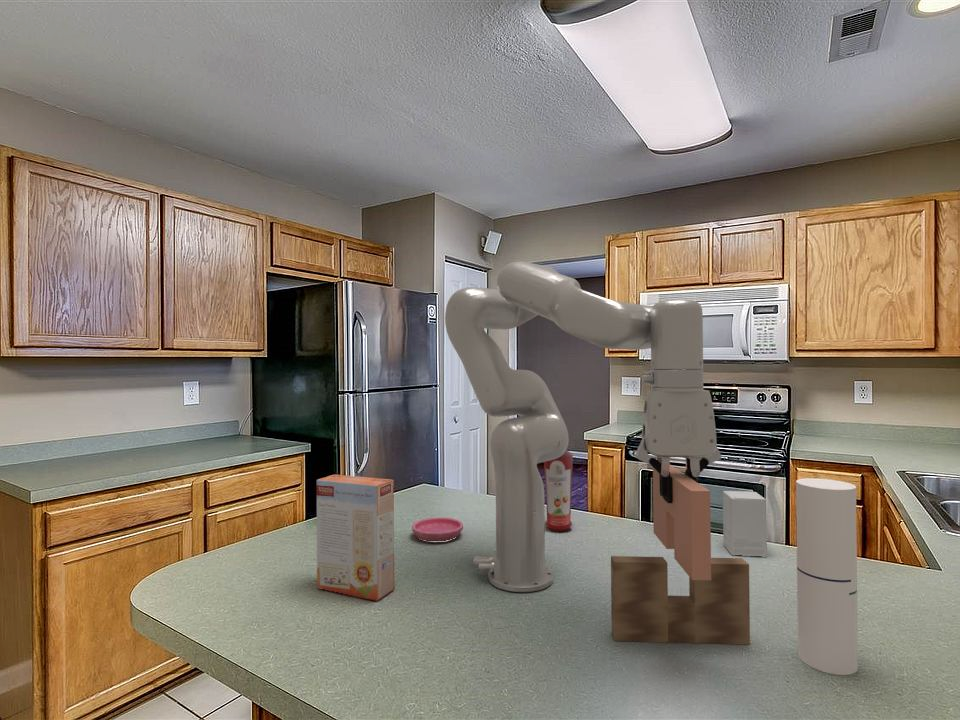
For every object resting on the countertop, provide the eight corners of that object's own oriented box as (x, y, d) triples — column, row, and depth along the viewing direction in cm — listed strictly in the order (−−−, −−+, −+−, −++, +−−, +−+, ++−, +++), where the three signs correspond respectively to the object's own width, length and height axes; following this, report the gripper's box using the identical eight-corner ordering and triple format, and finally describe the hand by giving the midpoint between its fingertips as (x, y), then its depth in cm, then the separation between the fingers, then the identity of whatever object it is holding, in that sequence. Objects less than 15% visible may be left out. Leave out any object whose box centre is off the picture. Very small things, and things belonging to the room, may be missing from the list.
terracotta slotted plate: (711, 580, 72) (710, 491, 72) (692, 580, 72) (691, 490, 72) (668, 532, 92) (667, 463, 92) (653, 532, 92) (652, 462, 92)
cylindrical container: (786, 648, 79) (784, 478, 79) (832, 645, 79) (830, 477, 79) (821, 676, 72) (819, 490, 72) (871, 673, 72) (869, 489, 72)
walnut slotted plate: (614, 640, 81) (613, 562, 81) (611, 632, 84) (610, 556, 84) (749, 644, 80) (749, 564, 80) (742, 635, 82) (742, 558, 82)
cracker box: (396, 589, 100) (395, 478, 100) (377, 603, 95) (376, 485, 95) (337, 577, 106) (336, 472, 106) (315, 589, 100) (315, 478, 101)
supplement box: (767, 558, 115) (767, 499, 115) (730, 555, 116) (730, 497, 116) (757, 546, 122) (756, 491, 122) (722, 544, 123) (722, 489, 123)
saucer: (468, 542, 126) (468, 529, 126) (416, 548, 123) (416, 534, 123) (456, 527, 138) (456, 515, 138) (408, 532, 135) (408, 519, 135)
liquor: (574, 525, 138) (573, 417, 138) (572, 534, 131) (571, 420, 131) (545, 523, 140) (545, 417, 140) (542, 532, 133) (541, 420, 133)
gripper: (628, 382, 79) (630, 507, 79) (741, 381, 78) (742, 508, 77) (618, 380, 86) (620, 494, 86) (721, 380, 85) (722, 495, 85)
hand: (678, 500), depth 82 cm, fingers closed on terracotta slotted plate, 2 cm apart
